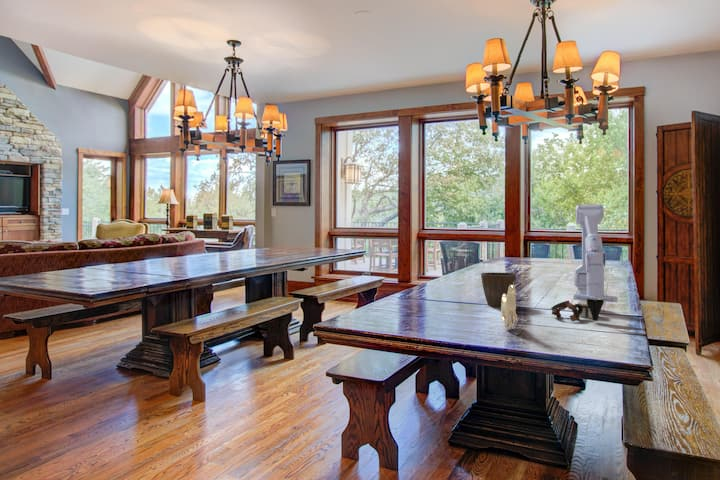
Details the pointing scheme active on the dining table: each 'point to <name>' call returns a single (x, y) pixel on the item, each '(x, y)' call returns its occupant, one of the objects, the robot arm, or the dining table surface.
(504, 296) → the unicorn
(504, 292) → the plant pot
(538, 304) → the dining table surface
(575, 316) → the brown curved wooden piece
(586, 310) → the letter cube
